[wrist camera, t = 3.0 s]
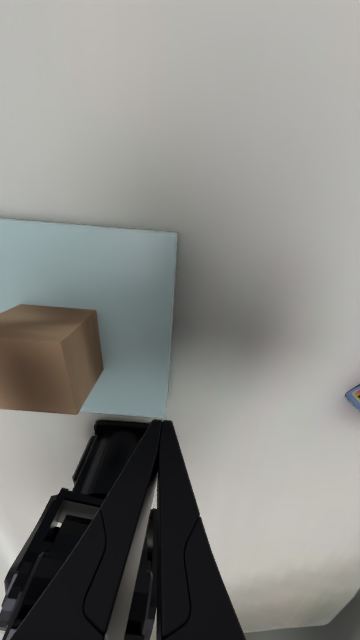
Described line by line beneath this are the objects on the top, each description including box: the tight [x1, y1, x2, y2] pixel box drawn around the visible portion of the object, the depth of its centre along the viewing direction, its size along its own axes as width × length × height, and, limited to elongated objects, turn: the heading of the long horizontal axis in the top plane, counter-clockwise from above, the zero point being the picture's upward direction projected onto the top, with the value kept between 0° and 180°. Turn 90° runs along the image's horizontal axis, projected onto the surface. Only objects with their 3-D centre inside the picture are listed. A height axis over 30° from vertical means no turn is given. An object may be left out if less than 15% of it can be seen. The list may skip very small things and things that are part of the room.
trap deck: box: [0, 218, 178, 418], centre depth 14 cm, size 22×15×6 cm, turn 86°
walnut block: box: [0, 304, 104, 415], centre depth 12 cm, size 5×5×4 cm
